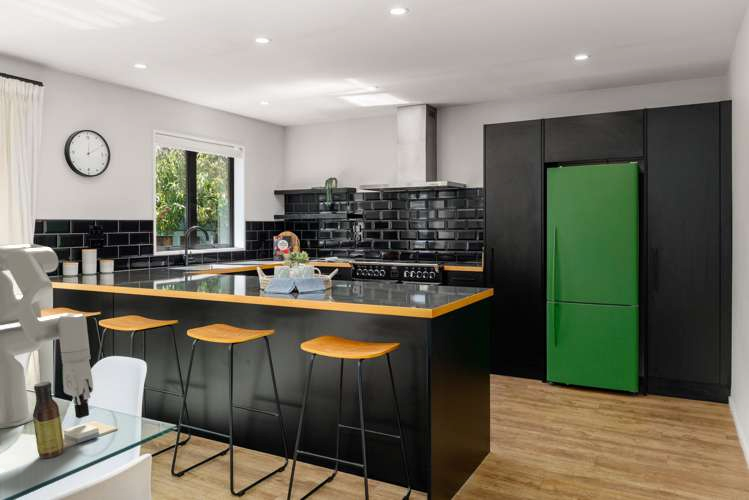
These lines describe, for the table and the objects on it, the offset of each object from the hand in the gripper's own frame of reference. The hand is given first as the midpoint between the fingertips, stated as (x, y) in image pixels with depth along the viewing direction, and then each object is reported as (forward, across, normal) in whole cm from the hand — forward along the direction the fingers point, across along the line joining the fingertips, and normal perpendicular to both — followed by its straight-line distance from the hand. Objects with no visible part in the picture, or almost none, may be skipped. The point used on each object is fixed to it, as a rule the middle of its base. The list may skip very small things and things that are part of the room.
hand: (82, 416), depth 169 cm
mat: (+6, -2, -1) cm, 6 cm away
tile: (+4, +4, +1) cm, 5 cm away
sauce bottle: (+6, +9, -13) cm, 16 cm away
